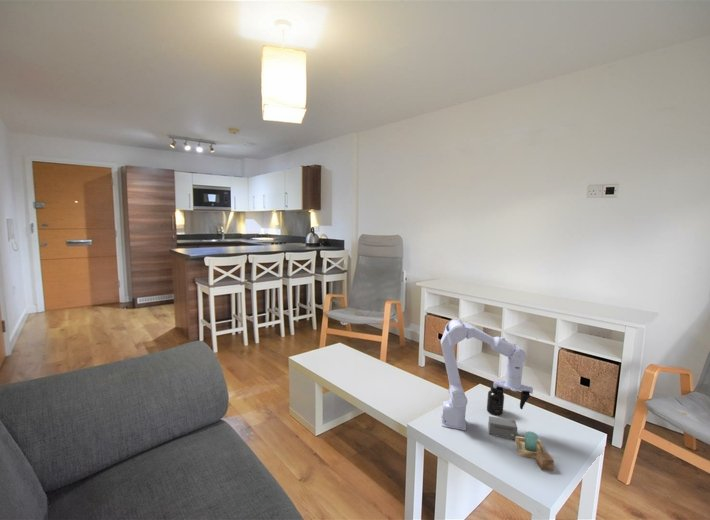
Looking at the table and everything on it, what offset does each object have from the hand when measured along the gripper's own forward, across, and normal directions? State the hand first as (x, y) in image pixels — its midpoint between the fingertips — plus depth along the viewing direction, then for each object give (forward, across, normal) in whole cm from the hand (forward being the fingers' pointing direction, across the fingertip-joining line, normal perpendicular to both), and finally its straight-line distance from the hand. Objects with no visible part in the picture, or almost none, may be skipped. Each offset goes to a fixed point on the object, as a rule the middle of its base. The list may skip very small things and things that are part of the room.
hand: (510, 406), depth 145 cm
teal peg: (+9, +6, -12) cm, 16 cm away
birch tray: (+10, +6, -12) cm, 17 cm away
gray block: (+10, -3, -4) cm, 11 cm away
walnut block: (+10, +9, -20) cm, 24 cm away
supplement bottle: (+10, -4, +12) cm, 16 cm away
